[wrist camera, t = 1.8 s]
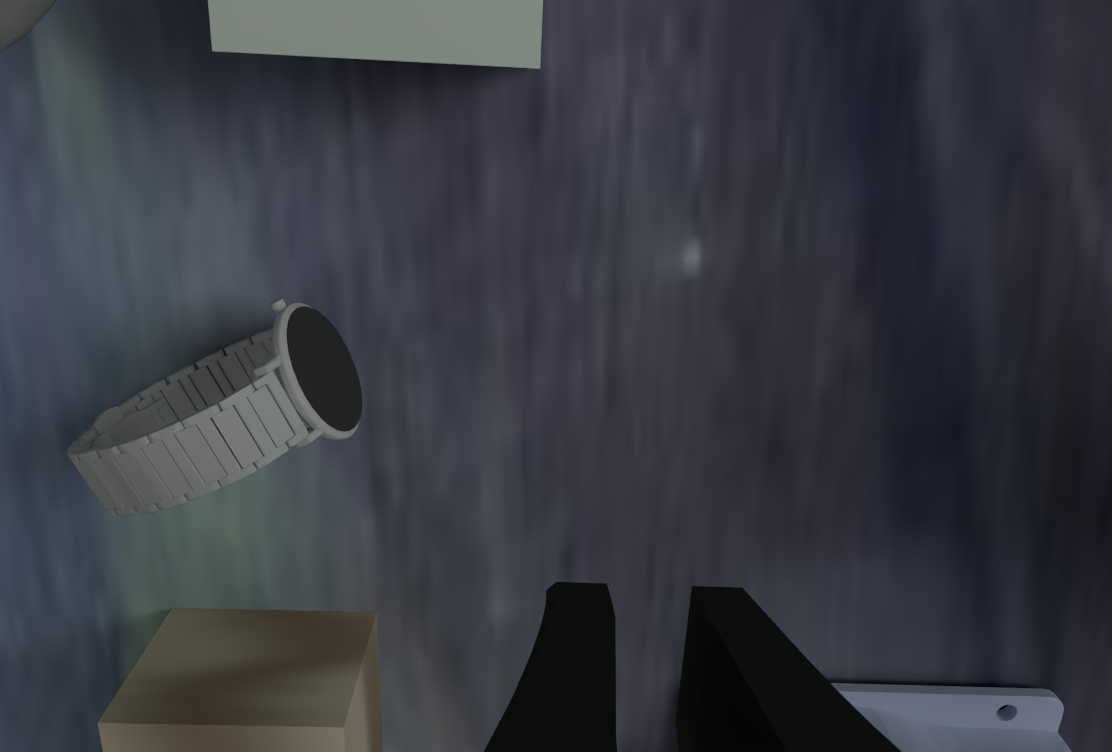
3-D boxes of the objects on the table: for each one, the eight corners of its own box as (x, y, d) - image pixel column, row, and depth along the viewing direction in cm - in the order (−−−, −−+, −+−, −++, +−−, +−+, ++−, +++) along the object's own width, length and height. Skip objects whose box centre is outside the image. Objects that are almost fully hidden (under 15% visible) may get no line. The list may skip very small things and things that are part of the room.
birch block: (377, 609, 22) (343, 727, 18) (384, 764, 24) (354, 901, 20) (174, 604, 22) (97, 722, 18) (196, 761, 23) (130, 898, 20)
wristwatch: (387, 377, 19) (338, 484, 15) (191, 457, 20) (85, 583, 15) (326, 260, 18) (253, 334, 14) (122, 347, 19) (-14, 447, 14)
